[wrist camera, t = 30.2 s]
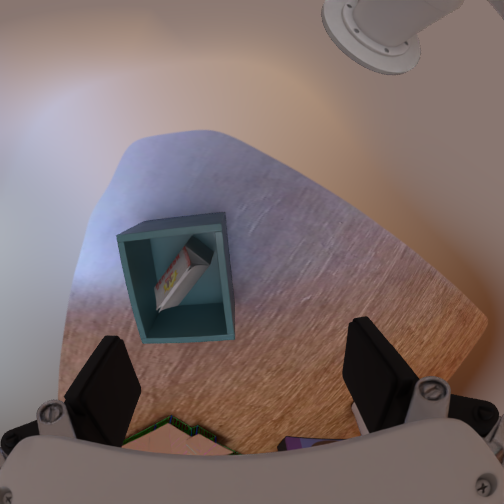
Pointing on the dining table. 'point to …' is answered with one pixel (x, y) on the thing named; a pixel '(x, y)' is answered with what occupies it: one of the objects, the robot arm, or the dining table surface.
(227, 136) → the dining table surface
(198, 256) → the tea bag
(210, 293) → the waste bin
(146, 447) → the house
